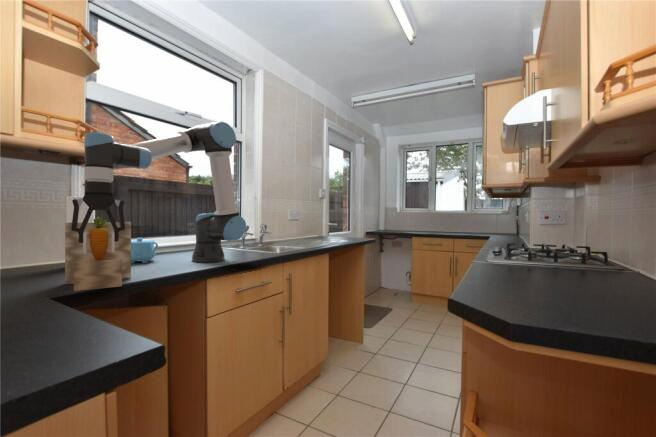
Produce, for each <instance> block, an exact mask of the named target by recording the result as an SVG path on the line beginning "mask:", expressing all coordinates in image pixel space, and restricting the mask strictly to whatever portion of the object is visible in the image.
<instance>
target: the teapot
mask: <svg viewBox="0 0 656 437" xmlns="http://www.w3.org/2000/svg"><path fill="white" fill-rule="evenodd" d="M158 247H159V245H158V243H157V242H156V241H155V240H144V238H143V237H137V238H136V240H131V265H132V264H135V262H137V261H141V263H142V264H147V263H148V262H150V261H152V260H153V259H154V258H155V257H156V256H157V252H155V251H157V250H158Z"/></svg>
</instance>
